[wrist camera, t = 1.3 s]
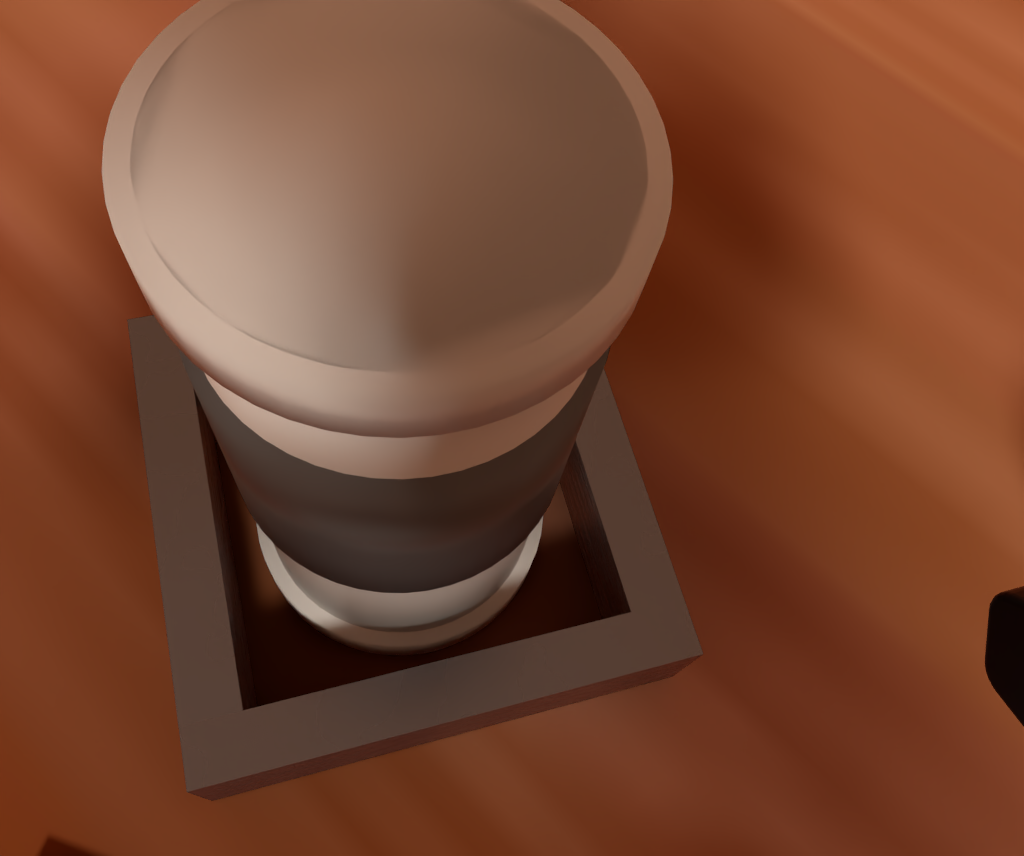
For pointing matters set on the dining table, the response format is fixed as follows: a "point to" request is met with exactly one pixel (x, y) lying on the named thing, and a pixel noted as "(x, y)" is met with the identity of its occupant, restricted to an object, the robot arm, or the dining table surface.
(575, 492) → the reel dock
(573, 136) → the cable reel
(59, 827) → the dining table surface
